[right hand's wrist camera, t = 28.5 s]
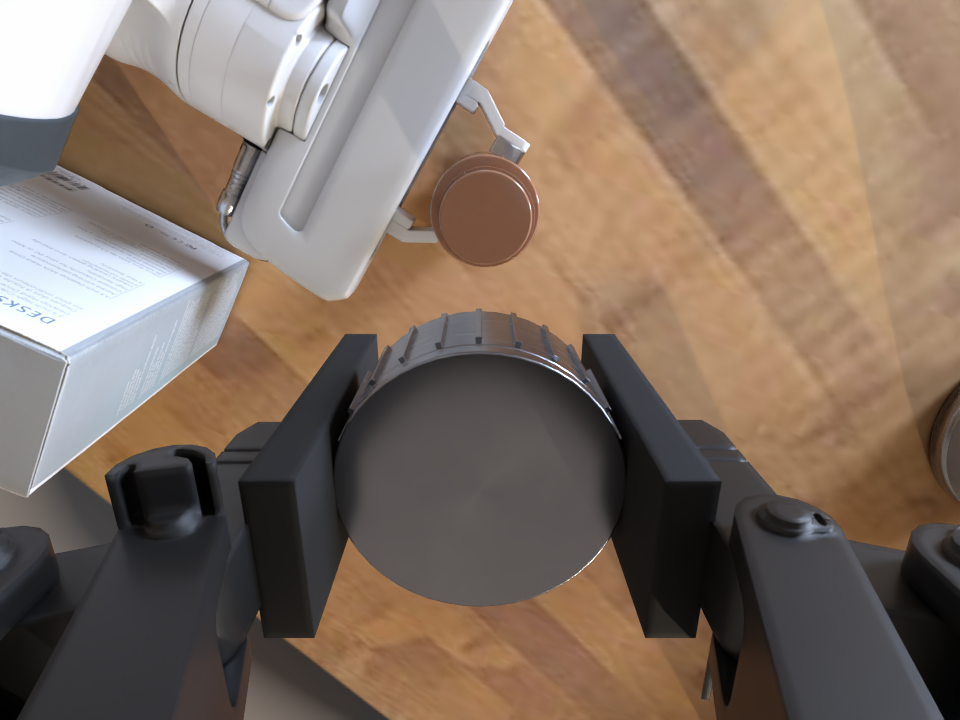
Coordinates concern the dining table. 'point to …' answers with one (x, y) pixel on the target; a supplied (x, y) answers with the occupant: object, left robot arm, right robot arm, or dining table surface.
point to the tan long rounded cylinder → (484, 210)
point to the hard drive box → (94, 316)
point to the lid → (479, 462)
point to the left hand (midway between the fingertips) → (496, 200)
